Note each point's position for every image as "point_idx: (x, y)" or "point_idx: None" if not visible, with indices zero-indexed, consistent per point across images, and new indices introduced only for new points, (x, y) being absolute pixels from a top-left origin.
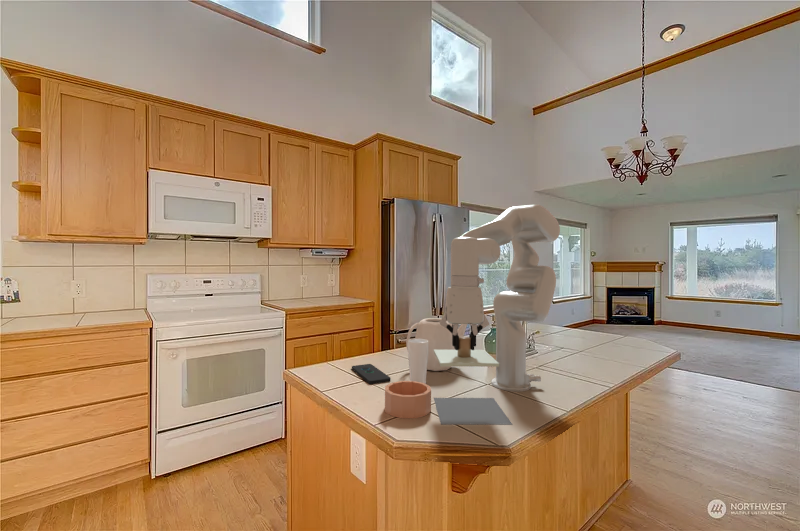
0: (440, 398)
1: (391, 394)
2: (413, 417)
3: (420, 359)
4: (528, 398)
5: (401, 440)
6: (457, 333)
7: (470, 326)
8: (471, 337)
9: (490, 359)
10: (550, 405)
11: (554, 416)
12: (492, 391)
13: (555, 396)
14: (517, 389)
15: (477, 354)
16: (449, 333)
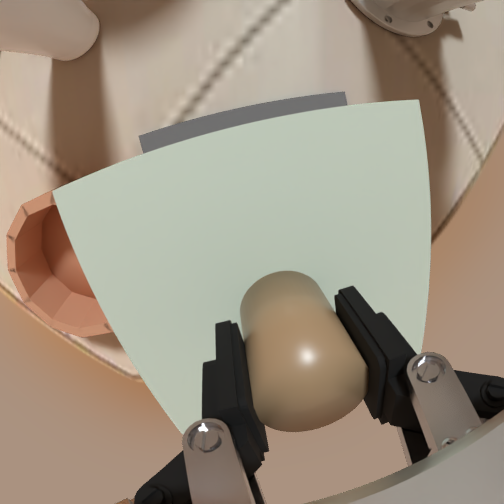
0: (162, 135)
1: (52, 326)
2: None
3: (29, 38)
4: (431, 81)
5: (140, 376)
6: (259, 462)
7: (427, 425)
8: (370, 411)
9: (408, 328)
10: (465, 129)
11: (456, 194)
12: (340, 25)
13: (479, 72)
14: (414, 35)
15: (369, 246)
16: None
